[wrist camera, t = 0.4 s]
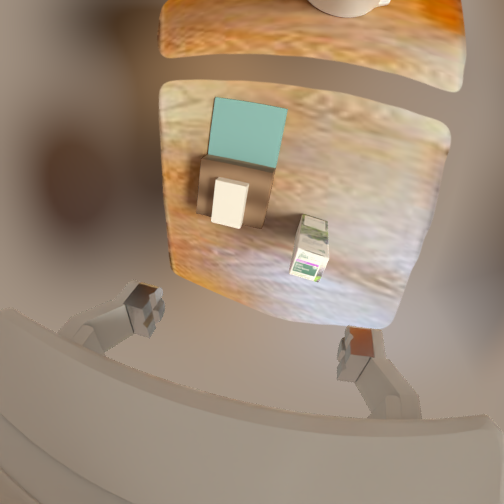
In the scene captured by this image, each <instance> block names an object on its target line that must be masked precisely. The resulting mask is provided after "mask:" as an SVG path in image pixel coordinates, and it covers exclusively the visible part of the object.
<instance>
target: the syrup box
mask: <svg viewBox="0 0 504 504" xmlns="http://www.w3.org/2000/svg"><path fill="white" fill-rule="evenodd" d="M328 260H329V241H328V222H327V221H324V220H321V219H318V218H314V217H311V216H308V215H305V214H302V217H301V220H300V223H299V226H298V229H297V232H296V235H295V243H294V248H293V254H292V259H291V263H290V269H289V274H291V275H295V276H298V277H302V278H305V279H308V280H312V281H315V282H319V281H320V278H321V276H322V274H323V272H324V269H325V267H326V265H327V262H328Z"/></svg>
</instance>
